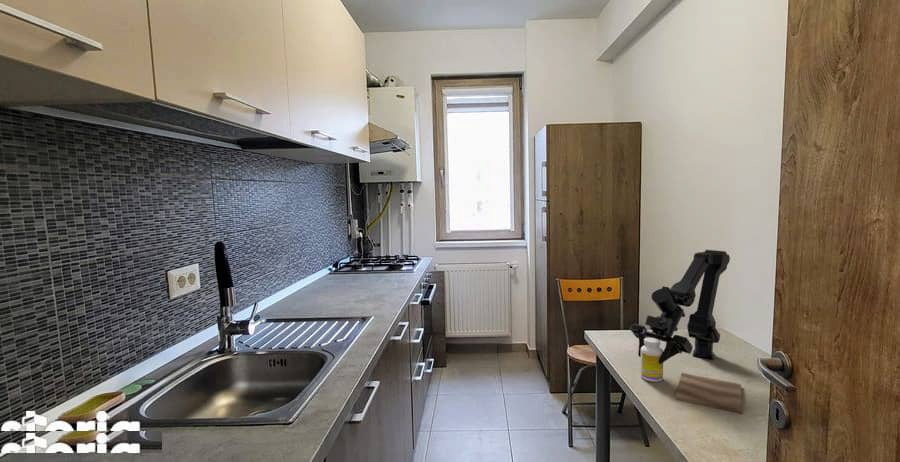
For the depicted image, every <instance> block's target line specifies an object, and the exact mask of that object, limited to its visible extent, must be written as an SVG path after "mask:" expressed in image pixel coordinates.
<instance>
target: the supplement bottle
mask: <svg viewBox="0 0 900 462" xmlns="http://www.w3.org/2000/svg"><path fill="white" fill-rule="evenodd" d="M644 344H645V345H644V346H642V347H641V357H640V370H639V371H640V372H639V373H640V374H639V375H640V377H641V378H642V379H643V380H645V381H648V382H652V383H659V382H662V381H663V378H664V362H663V363H662V364H659V359H660V357H661V355H662V353H663V351H664V349H663V348H661V347H660V345H661V340H658V339H655V338H650V337H649V338H645V339H644Z"/></svg>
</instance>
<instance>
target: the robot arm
mask: <svg viewBox="0 0 900 462" xmlns="http://www.w3.org/2000/svg"><path fill="white" fill-rule="evenodd" d="M730 260H731V257H730V255H729V254H728V253H727V252H726V250H716V249H714V250H713V249H705V250H704V251H699V252H695V253H694V255H693V260H692V261H691V262H690V265H689V266H688V268H687V269H686V271H685V273H684V274H683V276H682V278H681V279H680V281H678V282H675V283H674V284H673V285H672V286H671V287H668V286H664V285H663V286H662V287H661V288H658V289H657V290H655V291H654V292H652V293H651V297H650V298H651V300H652V302H653V303H654V304H655V306H656V308H658V310H659V311H660V312H661V314H660V315H657V316H652V315H647V316H646V320H645V323H644V324H645V325H642V324H637V323H633V324H632V325H631V326H630V328H629V330H630V332H632V335H634V337H635V338H637V339H638V353H637V355H638V357H639V358H641V347H642V346H644V345H645V344H644V339H645V338H655V339H658V340H660V342H664V343H666V344H665V347H664V349H663V353H662V355H661V357H660V359H659V364H662V363H663V364H664V363H665V362H666V361H667V360H669V359H670V358H672V357H674V356H676V355H678V354H680V355H681V354H683V353H686V354H688V355H689V354H691V353H692V356H693V357H696V358H703V359H707V360H708V359H709V360H714V359H715V352H714V344H715V343H716V344H718V343H719V342H720V339H721V334H720V332H719V331H718V329H717V327H716V324H717V322H716V319H715V317H714V315H713V312H714V307H715V302H716V296H717V291H718V287H719V280H720V276H721V275H722V274H723V273H724V272H725V271H726V270H727V268H728V265H729V263H730ZM701 279H702V284H701V289H700V293H699V299H698V303H697V309H696V311H695V312H694V313H690V314H689V316H688V317H689V318H688V321H687V322H688V323H687V332H688V337H689V338H693V339H694V349H693V345H692V343H691V342H690V340H689V338H688V337H686V336H681V335H678V334H674V333H675V332H678V330H679V329H678V325H679V324H680V323H679V322H680V321H681V319H682V318H685V317H686V313H685V311H684V310H685V309H684V308H682V307H686V308H688V307H691V306H692V305H693V304H694V302H695V299H696V295H697V294H696V291H695V290H696V288H697V286H698V285H699V282H700V281H701ZM681 306H682V307H681ZM646 326H649V327H648V328H649V329H650V330H648V329H647V328H646Z"/></svg>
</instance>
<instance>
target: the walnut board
mask: <svg viewBox="0 0 900 462" xmlns="http://www.w3.org/2000/svg"><path fill="white" fill-rule="evenodd" d="M679 377H680V378H679V380H678V381H679V382H678V385H677V387H676V392H675V396H674V398H675V399H676V400H681V401H684V402H689V403H692V404H696V405H697V404H698V405H702V406H706V407H711V408H714V409H715V408H716V409H720V410H724V411H727V412H729V411H730V412H732V413H733V412H734V413H736V414H737V413H738V414H741V415H742V413H743V412H742V411H743V408H742V406H743V405H742V383H736V382H731V381H727V380H721V379H716V378H711V377H707V376H706V377H705V376H701V375H697V374H696V375H695V374H691V373H686V372H681V374H680V376H679Z"/></svg>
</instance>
